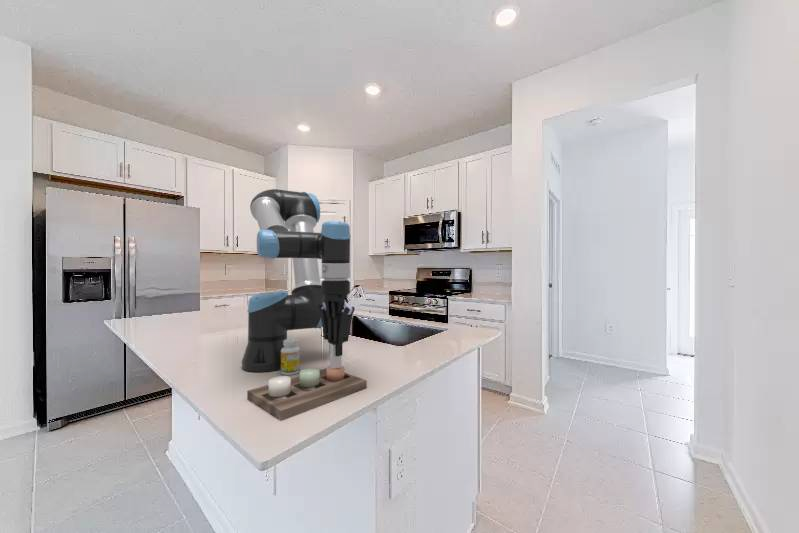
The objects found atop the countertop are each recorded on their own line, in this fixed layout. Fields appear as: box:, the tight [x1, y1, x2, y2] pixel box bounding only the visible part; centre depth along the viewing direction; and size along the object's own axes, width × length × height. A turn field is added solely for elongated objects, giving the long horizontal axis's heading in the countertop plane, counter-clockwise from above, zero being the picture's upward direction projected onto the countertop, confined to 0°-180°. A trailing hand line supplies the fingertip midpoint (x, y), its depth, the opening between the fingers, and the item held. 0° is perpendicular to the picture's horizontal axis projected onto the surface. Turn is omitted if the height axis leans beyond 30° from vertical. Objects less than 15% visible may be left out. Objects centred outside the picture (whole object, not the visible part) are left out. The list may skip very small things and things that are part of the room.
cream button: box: [268, 375, 291, 398], centre depth 75 cm, size 5×5×3 cm
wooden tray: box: [246, 368, 368, 421], centre depth 81 cm, size 16×24×2 cm, turn 138°
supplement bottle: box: [280, 338, 301, 376], centre depth 97 cm, size 5×5×10 cm
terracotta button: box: [325, 365, 346, 383], centre depth 87 cm, size 5×5×3 cm
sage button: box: [299, 367, 321, 388], centre depth 81 cm, size 5×5×3 cm
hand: (335, 367), depth 87 cm, fingers closed
